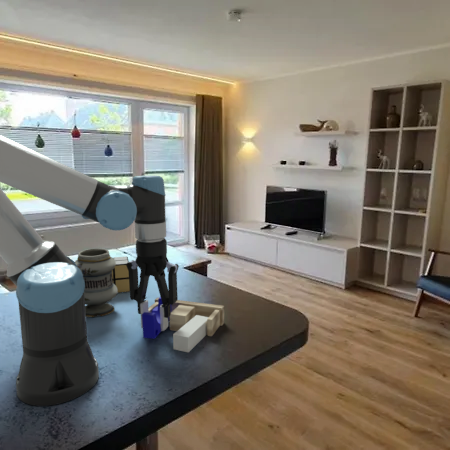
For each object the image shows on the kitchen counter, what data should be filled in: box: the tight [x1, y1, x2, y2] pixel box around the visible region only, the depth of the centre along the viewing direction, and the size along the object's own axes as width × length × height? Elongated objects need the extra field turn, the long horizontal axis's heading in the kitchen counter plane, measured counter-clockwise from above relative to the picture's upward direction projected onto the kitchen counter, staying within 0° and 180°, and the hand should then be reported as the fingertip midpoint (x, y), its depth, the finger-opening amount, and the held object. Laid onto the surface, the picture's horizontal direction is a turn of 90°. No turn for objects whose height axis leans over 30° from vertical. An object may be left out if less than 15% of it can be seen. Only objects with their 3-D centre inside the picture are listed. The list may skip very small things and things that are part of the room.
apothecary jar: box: [74, 247, 118, 318], centre depth 110 cm, size 12×12×18 cm
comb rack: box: [148, 297, 225, 337], centre depth 102 cm, size 8×20×5 cm, turn 72°
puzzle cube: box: [112, 255, 130, 294], centre depth 129 cm, size 10×10×10 cm
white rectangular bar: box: [172, 315, 209, 353], centre depth 94 cm, size 12×4×4 cm, turn 157°
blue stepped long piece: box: [142, 296, 172, 339], centre depth 97 cm, size 12×4×6 cm, turn 168°
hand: (154, 326), depth 97 cm, fingers closed on blue stepped long piece, 5 cm apart
